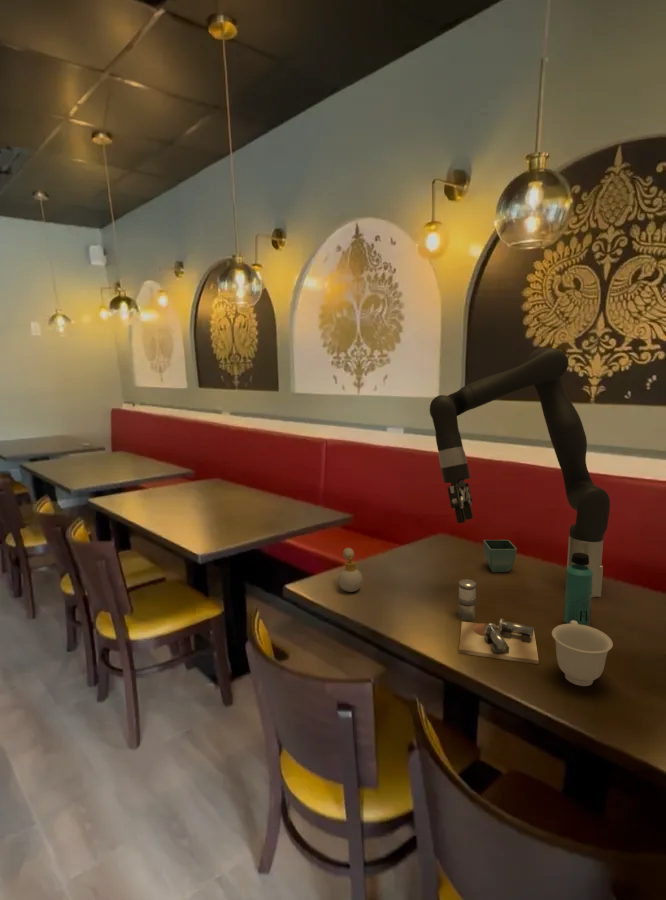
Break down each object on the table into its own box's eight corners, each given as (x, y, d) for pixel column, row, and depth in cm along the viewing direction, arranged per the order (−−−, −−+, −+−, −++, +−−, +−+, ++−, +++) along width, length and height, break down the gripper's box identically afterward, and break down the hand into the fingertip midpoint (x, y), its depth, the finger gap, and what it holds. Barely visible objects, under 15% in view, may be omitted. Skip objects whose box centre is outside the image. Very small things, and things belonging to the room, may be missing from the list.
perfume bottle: (346, 597, 157) (345, 559, 155) (330, 585, 165) (330, 549, 163) (367, 591, 160) (367, 554, 158) (351, 580, 169) (350, 545, 167)
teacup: (597, 659, 123) (600, 619, 121) (616, 699, 109) (620, 654, 107) (543, 653, 126) (545, 614, 124) (554, 691, 111) (557, 648, 110)
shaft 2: (498, 636, 132) (498, 621, 131) (500, 629, 135) (501, 615, 134) (531, 643, 128) (532, 628, 127) (533, 636, 131) (534, 622, 131)
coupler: (475, 613, 145) (476, 580, 144) (475, 621, 141) (476, 587, 139) (458, 611, 147) (459, 578, 145) (457, 619, 142) (458, 585, 141)
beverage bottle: (578, 635, 133) (583, 561, 130) (556, 623, 139) (561, 552, 136) (595, 628, 136) (600, 556, 133) (573, 618, 142) (578, 548, 139)
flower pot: (516, 574, 171) (517, 548, 169) (489, 575, 171) (490, 549, 170) (507, 564, 180) (508, 539, 178) (482, 564, 180) (482, 539, 178)
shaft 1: (483, 637, 131) (483, 623, 131) (497, 636, 131) (497, 622, 131) (494, 655, 123) (495, 640, 123) (509, 654, 124) (510, 639, 123)
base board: (533, 633, 135) (533, 629, 134) (538, 664, 121) (538, 659, 121) (461, 624, 140) (462, 620, 139) (458, 653, 126) (459, 648, 126)
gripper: (460, 462, 141) (472, 522, 139) (472, 461, 153) (484, 516, 152) (433, 468, 144) (445, 526, 143) (448, 466, 157) (459, 519, 155)
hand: (465, 520), depth 147 cm, fingers open, 8 cm apart
